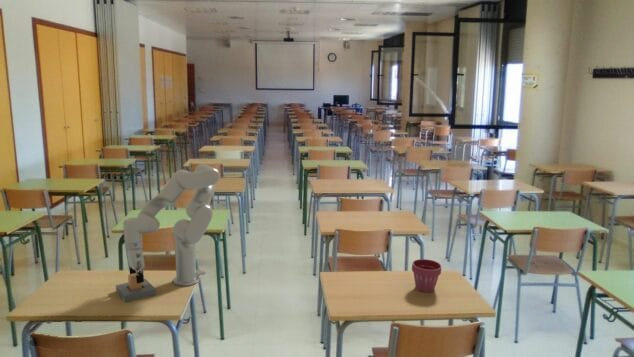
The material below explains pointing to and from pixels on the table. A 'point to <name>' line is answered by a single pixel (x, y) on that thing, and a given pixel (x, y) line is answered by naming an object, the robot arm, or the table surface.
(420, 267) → the plant pot
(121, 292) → the socket plate
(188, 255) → the robot arm
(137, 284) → the plug
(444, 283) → the table surface
